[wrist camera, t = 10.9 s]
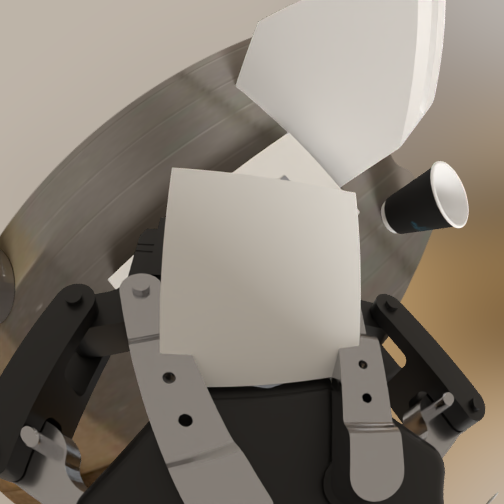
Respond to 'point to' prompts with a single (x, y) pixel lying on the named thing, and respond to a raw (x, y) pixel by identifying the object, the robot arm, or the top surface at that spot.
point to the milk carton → (346, 75)
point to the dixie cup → (427, 202)
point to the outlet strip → (270, 176)
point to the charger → (258, 277)
